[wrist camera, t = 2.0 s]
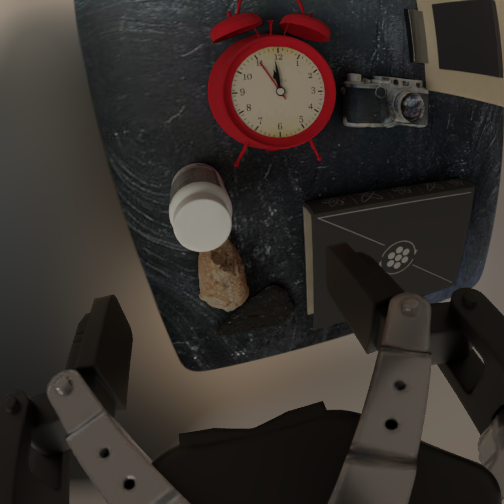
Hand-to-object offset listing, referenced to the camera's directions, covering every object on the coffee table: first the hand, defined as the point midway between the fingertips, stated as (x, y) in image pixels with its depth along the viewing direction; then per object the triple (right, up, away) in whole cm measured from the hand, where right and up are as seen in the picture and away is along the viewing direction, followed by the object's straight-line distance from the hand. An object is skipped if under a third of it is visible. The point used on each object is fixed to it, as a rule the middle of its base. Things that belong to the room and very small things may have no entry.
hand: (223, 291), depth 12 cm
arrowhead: (+6, -4, +25) cm, 26 cm away
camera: (+14, +16, +16) cm, 27 cm away
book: (+17, +3, +25) cm, 30 cm away
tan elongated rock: (-2, -1, +22) cm, 22 cm away
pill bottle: (-4, +7, +17) cm, 19 cm away
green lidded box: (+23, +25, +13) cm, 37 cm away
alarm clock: (+2, +17, +13) cm, 21 cm away
